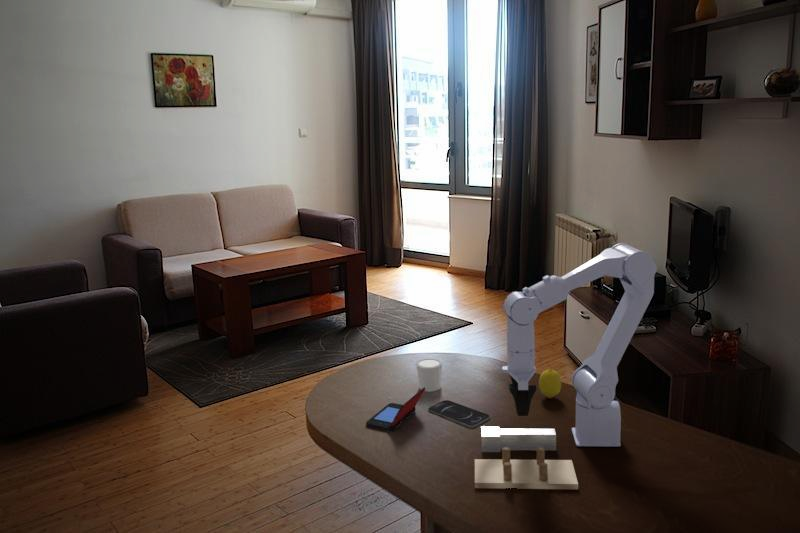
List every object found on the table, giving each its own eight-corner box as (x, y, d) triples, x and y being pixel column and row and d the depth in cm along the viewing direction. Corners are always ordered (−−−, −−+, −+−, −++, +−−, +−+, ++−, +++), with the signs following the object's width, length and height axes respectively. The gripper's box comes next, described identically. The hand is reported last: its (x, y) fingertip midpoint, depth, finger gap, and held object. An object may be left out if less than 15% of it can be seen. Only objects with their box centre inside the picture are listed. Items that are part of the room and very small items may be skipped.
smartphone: (446, 399, 174) (492, 415, 163) (446, 402, 174) (492, 419, 163) (425, 409, 169) (471, 426, 158) (426, 412, 169) (471, 430, 158)
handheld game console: (390, 406, 173) (388, 379, 171) (428, 414, 168) (426, 386, 166) (364, 427, 162) (362, 398, 161) (403, 436, 157) (401, 406, 155)
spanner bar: (554, 442, 150) (554, 426, 149) (556, 452, 146) (556, 436, 145) (481, 441, 152) (481, 426, 151) (481, 452, 148) (481, 436, 147)
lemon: (564, 395, 173) (564, 366, 171) (556, 404, 168) (556, 374, 166) (543, 391, 176) (543, 363, 174) (535, 400, 171) (535, 370, 169)
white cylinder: (443, 392, 179) (442, 367, 177) (417, 393, 179) (416, 368, 177) (442, 381, 186) (441, 357, 184) (417, 382, 186) (415, 358, 184)
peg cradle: (571, 465, 141) (571, 446, 140) (578, 489, 132) (578, 469, 131) (474, 464, 143) (474, 445, 142) (474, 488, 134) (474, 468, 133)
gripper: (500, 336, 151) (501, 393, 154) (502, 361, 137) (504, 422, 141) (532, 336, 150) (533, 392, 154) (538, 361, 136) (538, 422, 140)
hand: (521, 407), depth 147 cm, fingers open, 7 cm apart
